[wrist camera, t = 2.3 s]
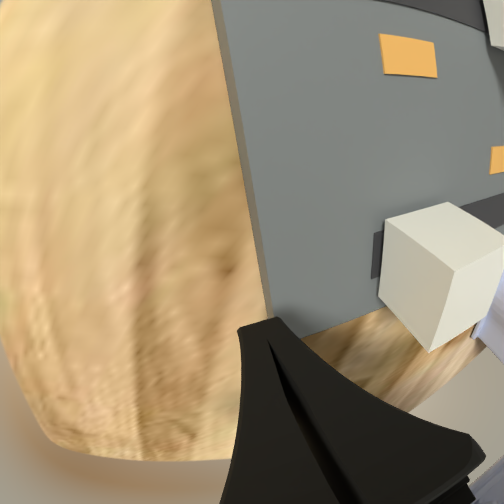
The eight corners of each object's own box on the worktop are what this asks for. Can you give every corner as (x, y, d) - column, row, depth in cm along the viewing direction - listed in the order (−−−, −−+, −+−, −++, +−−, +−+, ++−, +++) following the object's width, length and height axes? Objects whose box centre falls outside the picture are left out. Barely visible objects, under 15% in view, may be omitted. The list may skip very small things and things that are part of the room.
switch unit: (512, 227, 18) (527, 237, 17) (269, 325, 15) (280, 350, 14) (514, 2, 8) (532, 3, 7) (195, -83, 5) (201, -106, 4)
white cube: (436, 271, 14) (486, 315, 11) (378, 296, 13) (428, 353, 10) (447, 201, 12) (512, 240, 8) (385, 219, 11) (454, 271, 8)
